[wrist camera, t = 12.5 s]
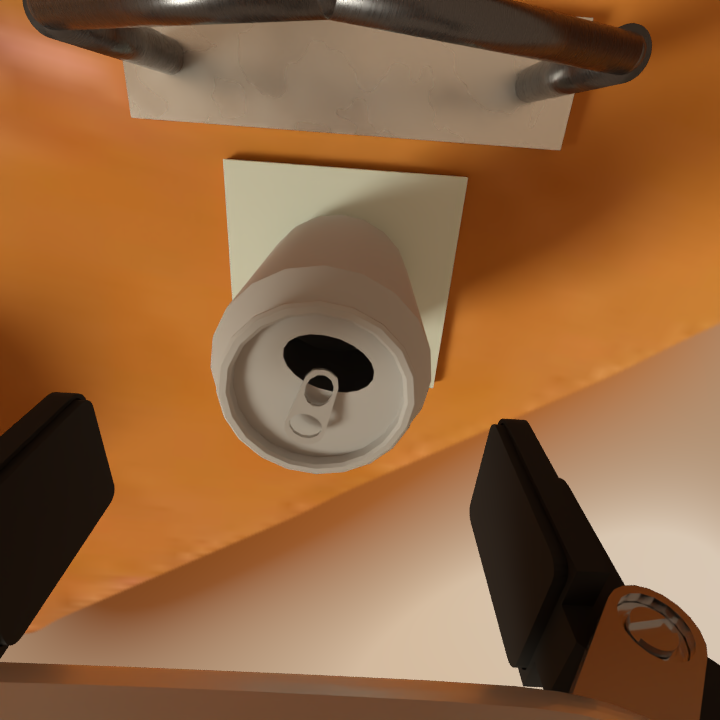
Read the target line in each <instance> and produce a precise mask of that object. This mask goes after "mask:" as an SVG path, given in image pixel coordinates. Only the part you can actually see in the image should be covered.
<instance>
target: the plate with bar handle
mask: <svg viewBox="0 0 720 720" xmlns="http://www.w3.org/2000/svg"><path fill="white" fill-rule="evenodd" d="M23 6H24V10H25V13H26V15H27V17H28V19H29V21H30V22H31V24H32V25H33V26H34V27H35V28H36V29H37V30H38V31H39V32H40V33H41V34H43V35H45V36H46V37H49V38H52V39H55V40H58V41H62V42H65V43H68V44H71V45H74V46H78V47H81V48H84V49H87V50H91V51H94V52H97V53H100V54H103V55H107V56H110V57H113V58H116V59H119V60H123V65H124V72H125V79H126V86H127V92H128V99H129V106H130V113H131V118H143V119H157V120H170V121H183V122H196V123H209V124H222V125H235V126H248V127H261V128H274V129H287V130H300V131H313V132H326V133H339V134H352V135H365V136H378V137H391V138H405V139H418V140H431V141H444V142H457V143H470V144H483V145H496V146H509V147H522V148H535V149H548V150H561V146H562V142H563V138H564V134H565V130H566V126H567V122H568V118H569V114H570V110H571V106H572V102H573V98H574V94H575V93H579V92H584V91H588V90H593V89H598V88H603V87H607V86H612V85H617V84H622V83H626V82H628V81H631V80H632V79H634V78H635V77H637V76H638V75H639V74H640V73H641V72H642V71H643V69H644V68H645V66H646V65H647V63H648V61H649V58H650V55H651V50H652V41H651V37H650V34H649V32H648V31H647V30H646V28H644V27H643V26H641V25H639V24H635V23H630V24H625V25H623V26H620V27H618V28H617V27H613V26H609V25H605V24H602V23H598V22H594V21H593V18H587V17H575V16H571V15H567V14H563V13H559V12H555V11H552V10H548V9H544V8H540V7H536V6H532V5H529V4H525V3H521V2H517V1H513V0H23Z"/></svg>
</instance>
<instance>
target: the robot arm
mask: <svg viewBox="0 0 720 720" xmlns="http://www.w3.org/2000/svg"><path fill="white" fill-rule="evenodd" d="M113 496H114V483H113V479H112V475H111V472H110V468H109V464H108V460H107V457H106V453H105V449H104V445H103V442H102V438H101V434H100V431H99V427H98V423H97V419H96V416H95V412H94V408H93V405H92V403H91V402H90V401H88V400H86V399H85V397H84V396H83V395H82V394H77V393H60V392H54V393H51V394H49V395H48V396H46V397H45V398H44V399H43V400H42V401H41V402H40V403H38V404H37V405H36V406H35V407H34V408H33V409H32V410H30V411H29V412H28V413H27V414H26V415H25V416H23V417H22V418H21V419H20V420H19V421H18V422H17V423H15V424H14V425H13V426H12V427H11V428H10V429H8V430H7V431H6V432H5V433H4V434H3V435H2V436H0V658H1V657H2V655H3V654H4V652H5V651H6V649H7V648H8V646H9V645H13V644H15V643H16V642H18V641H19V639H20V638H21V637H22V636H23V634H24V633H25V631H26V630H27V628H28V627H29V625H30V624H31V622H32V621H33V619H34V618H35V616H36V615H37V613H38V612H39V610H40V609H41V607H42V606H43V604H44V603H45V601H46V600H47V598H48V597H49V595H50V593H51V592H52V590H53V589H54V587H55V586H56V584H57V583H58V581H59V580H60V578H61V577H62V575H63V574H64V572H65V571H66V569H67V568H68V566H69V565H70V563H71V562H72V560H73V559H74V557H75V556H76V554H77V553H78V551H79V550H80V548H81V547H82V545H83V544H84V542H85V541H86V539H87V538H88V536H89V535H90V533H91V532H92V530H93V529H94V527H95V525H96V524H97V522H98V521H99V519H100V518H101V516H102V515H103V513H104V512H105V510H106V509H107V507H108V506H109V504H110V503H111V501H112V499H113ZM470 520H471V525H472V528H473V532H474V535H475V539H476V543H477V547H478V551H479V554H480V558H481V562H482V565H483V569H484V573H485V576H486V580H487V584H488V588H489V591H490V595H491V599H492V602H493V606H494V610H495V613H496V617H497V621H498V624H499V629H500V632H501V636H502V640H503V643H504V647H505V651H506V654H507V658H508V661H509V663H510V665H511V666H512V667H517V668H518V669H519V673H520V676H521V680H522V683H523V686H527V687H543V689H544V690H542V689H533V688H525V687H517V686H502V685H487V684H473V683H458V682H444V681H429V680H428V681H427V680H407V679H387V678H366V677H346V676H345V677H344V676H324V675H303V674H282V673H259V672H258V673H257V672H236V671H213V670H189V669H165V668H141V667H116V666H114V667H113V666H89V665H62V664H61V665H60V664H35V663H34V664H33V663H8V662H7V663H6V662H0V720H720V665H719V664H717V663H716V662H714V661H713V660H711V659H710V658H708V657H707V647H706V643H705V641H704V639H703V636H702V634H701V632H700V630H699V629H698V627H697V626H696V625H695V623H694V622H693V621H692V619H691V618H690V617H689V616H688V615H687V614H686V613H685V612H684V611H683V610H682V609H681V608H680V607H679V606H678V605H676V604H675V603H673V602H672V601H670V600H669V599H668V598H666V597H665V596H663V595H661V594H659V593H657V592H654V591H653V590H650V589H648V588H644V587H639V586H636V585H627V586H625V585H624V583H623V582H622V580H621V578H620V576H619V574H618V573H617V571H616V569H615V567H614V566H613V564H612V562H611V560H610V558H609V557H608V555H607V553H606V551H605V550H604V548H603V546H602V544H601V542H600V541H599V539H598V537H597V535H596V534H595V532H594V530H593V528H592V526H591V525H590V523H589V521H588V520H587V518H586V516H585V514H584V512H583V511H582V509H581V507H580V505H579V503H578V502H577V500H576V498H575V497H574V495H573V493H572V491H571V489H570V488H569V486H568V485H567V483H566V482H565V481H564V480H563V479H561V478H558V476H557V474H556V472H555V470H554V468H553V467H552V465H551V463H550V461H549V459H548V457H547V456H546V454H545V452H544V450H543V449H542V447H541V445H540V443H539V441H538V439H537V438H536V436H535V434H534V432H533V430H532V428H531V427H530V425H529V423H528V422H527V421H526V420H516V419H501V420H500V421H499V422H498V425H497V424H493V425H492V426H491V428H490V431H489V435H488V439H487V442H486V446H485V450H484V454H483V458H482V462H481V465H480V469H479V473H478V477H477V481H476V485H475V489H474V493H473V496H472V500H471V504H470Z"/></svg>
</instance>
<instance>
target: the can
mask: <svg viewBox="0 0 720 720" xmlns="http://www.w3.org/2000/svg"><path fill="white" fill-rule="evenodd" d="M211 371H212V374H213V378H214V381H215V385H216V391H217V395H218V398H219V402H220V405H221V409H222V412H223V416H224V418H225V419H226V421H227V422H228V424H229V425H230V427H231V428H232V429H233V431H234V432H235V434H236V435H237V437H238V438H239V440H241V441H242V442H243V443H244V444H246V445H247V446H248V447H249V448H251V449H252V450H253V451H254V452H256V453H257V454H258V455H259V456H261V457H262V458H264V459H267V460H269V461H271V462H273V463H275V464H278V465H280V466H282V467H284V468H287V469H291V470H297V471H302V472H308V473H313V474H322V473H337V472H346V471H349V470H352V469H355V468H358V467H361V466H364V465H367V464H370V463H372V462H373V461H375V460H376V459H378V458H379V457H381V456H382V455H383V454H385V453H386V452H388V451H389V450H391V449H392V448H393V447H394V446H395V445H396V443H397V442H398V441H399V440H400V438H401V437H402V436H403V435H404V433H405V432H406V431H407V429H408V428H409V426H410V423H411V422H412V421H413V419H414V418H415V417H416V415H417V414H418V413H419V412H420V410H421V409H422V406H423V404H424V401H425V398H426V395H427V392H428V389H429V386H430V383H431V350H430V346H429V343H428V340H427V336H426V333H425V330H424V326H423V323H422V319H421V316H420V313H419V309H418V306H417V303H416V299H415V296H414V293H413V289H412V286H411V282H410V279H409V276H408V272H407V269H406V267H405V264H404V262H403V259H402V257H401V254H400V252H399V250H398V248H397V247H396V246H395V245H394V244H393V242H392V241H391V240H390V239H389V238H388V236H387V235H386V234H385V233H384V232H383V231H381V230H380V229H378V228H376V227H375V226H373V225H371V224H370V223H368V222H366V221H365V220H362V219H358V218H354V217H349V216H345V215H341V214H340V215H330V216H319V217H315V218H313V219H311V220H309V221H306V222H304V223H302V224H300V225H298V226H296V227H295V228H294V229H292V230H291V231H290V232H289V233H288V234H287V235H286V236H285V237H284V238H283V239H282V240H281V241H280V242H279V243H278V244H277V246H276V247H275V248H274V249H273V251H272V252H271V253H270V254H269V256H268V257H267V258H266V259H265V261H264V262H263V263H262V264H261V266H260V267H259V268H258V269H257V271H256V272H255V273H254V274H253V276H252V277H251V278H250V279H249V281H248V282H247V283H246V284H245V285H244V287H243V288H242V289H241V290H240V292H239V293H238V294H237V295H236V297H235V298H234V299H233V300H232V302H231V303H230V304H229V305H228V307H227V308H226V310H225V312H224V314H223V317H222V319H221V321H220V323H219V325H218V327H217V329H216V331H215V333H214V335H213V342H212V356H211Z"/></svg>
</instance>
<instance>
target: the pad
mask: <svg viewBox="0 0 720 720" xmlns="http://www.w3.org/2000/svg"><path fill="white" fill-rule="evenodd" d="M223 166H224V181H225V196H226V211H227V226H228V241H229V256H230V271H231V286H232V300H233V299H234V298H235V297H236V295H237V294H238V293H239V292H240V290H241V289H242V288H243V287H244V285H245V284H246V283H247V282H248V281H249V279H250V278H251V277H252V276H253V274H254V273H255V272H256V271H257V269H258V268H259V267H260V266H261V264H262V263H263V262H264V261H265V259H266V258H267V257H268V256H269V254H270V253H271V252H272V251H273V249H274V248H275V247H276V246H277V244H278V243H279V242H280V241H281V240H282V239H283V238H284V237H285V236H286V235H287V234H288V233H289V232H290V231H291V230H292V229H294V228H295V227H296V226H298V225H300V224H302V223H304V222H306V221H309V220H311V219H313V218H315V217H319V216H330V215H340V214H341V215H345V216H349V217H354V218H358V219H362V220H365V221H366V222H368V223H370V224H371V225H373V226H375V227H376V228H378V229H380V230H381V231H383V232H384V233H385V234H386V235H387V236H388V238H389V239H390V240H391V241H392V242H393V244H394V245H395V246H396V247H397V248H398V250H399V252H400V254H401V257H402V259H403V262H404V264H405V267H406V269H407V272H408V276H409V279H410V282H411V286H412V289H413V293H414V296H415V299H416V303H417V306H418V309H419V313H420V316H421V319H422V323H423V326H424V330H425V333H426V336H427V340H428V343H429V346H430V350H431V383H430V386H429V388H433V386H434V380H435V374H436V368H437V362H438V356H439V350H440V344H441V338H442V332H443V326H444V320H445V314H446V308H447V302H448V296H449V290H450V284H451V278H452V272H453V266H454V260H455V254H456V248H457V242H458V236H459V230H460V224H461V218H462V212H463V206H464V200H465V194H466V188H467V182H468V177H462V176H449V175H436V174H422V173H409V172H396V171H383V170H369V169H356V168H343V167H330V166H316V165H303V164H290V163H277V162H263V161H250V160H237V159H223Z"/></svg>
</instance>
